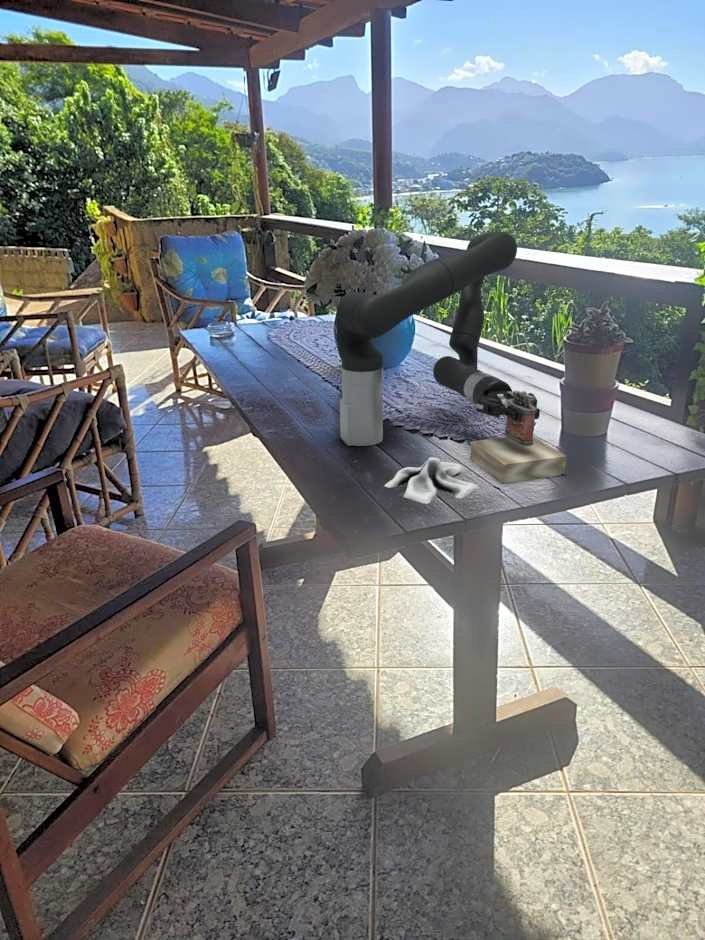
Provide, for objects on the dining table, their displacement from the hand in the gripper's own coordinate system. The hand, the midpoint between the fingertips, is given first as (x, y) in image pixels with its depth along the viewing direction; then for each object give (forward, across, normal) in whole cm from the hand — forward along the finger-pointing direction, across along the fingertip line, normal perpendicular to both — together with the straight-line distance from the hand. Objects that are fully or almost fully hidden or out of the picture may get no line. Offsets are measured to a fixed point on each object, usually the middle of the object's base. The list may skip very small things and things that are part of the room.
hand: (528, 415), depth 132 cm
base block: (-3, 0, +12) cm, 12 cm away
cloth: (-1, -22, +13) cm, 25 cm away
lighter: (-3, 0, +6) cm, 7 cm away
